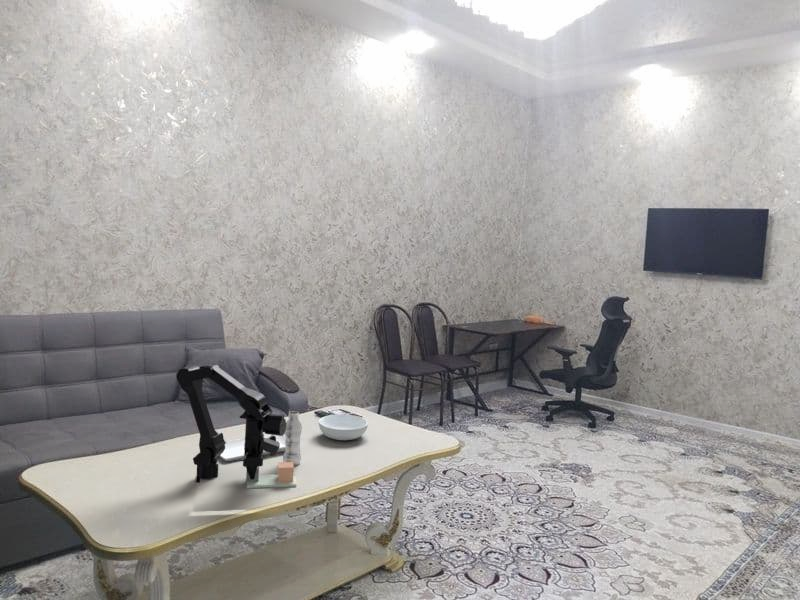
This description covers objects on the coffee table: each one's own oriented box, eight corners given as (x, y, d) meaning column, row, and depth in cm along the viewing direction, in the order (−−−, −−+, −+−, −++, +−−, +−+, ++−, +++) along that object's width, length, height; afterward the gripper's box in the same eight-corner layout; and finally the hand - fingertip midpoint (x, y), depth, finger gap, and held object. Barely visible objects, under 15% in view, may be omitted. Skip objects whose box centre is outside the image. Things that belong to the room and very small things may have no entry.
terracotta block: (277, 482, 203) (278, 467, 202) (277, 476, 208) (278, 462, 207) (293, 481, 204) (293, 467, 204) (292, 476, 209) (292, 461, 208)
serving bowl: (309, 440, 252) (310, 424, 252) (329, 426, 272) (330, 411, 272) (356, 448, 247) (357, 431, 246) (373, 433, 267) (374, 418, 266)
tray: (299, 451, 240) (300, 443, 239) (224, 467, 219) (225, 458, 218) (277, 439, 252) (278, 431, 252) (204, 453, 231) (205, 444, 231)
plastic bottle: (304, 465, 225) (306, 412, 223) (292, 470, 219) (294, 416, 217) (290, 461, 228) (293, 409, 226) (278, 466, 222) (280, 412, 220)
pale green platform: (245, 488, 199) (246, 472, 198) (246, 477, 207) (246, 462, 207) (296, 486, 202) (297, 471, 202) (294, 476, 211) (295, 461, 211)
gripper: (279, 440, 195) (277, 488, 196) (278, 423, 213) (276, 466, 214) (243, 441, 192) (242, 489, 194) (245, 423, 210) (243, 467, 212)
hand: (252, 477), depth 203 cm, fingers closed on pale green platform, 2 cm apart
